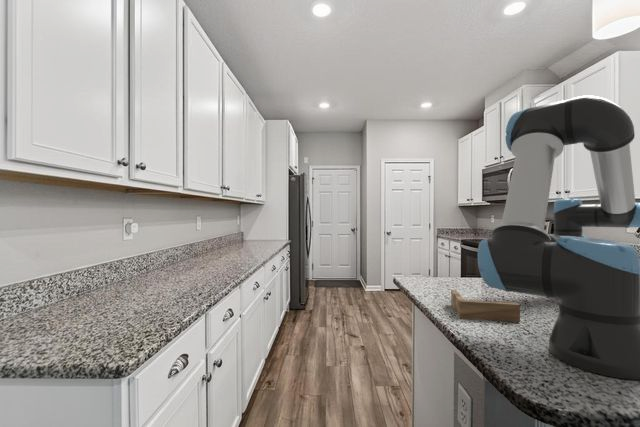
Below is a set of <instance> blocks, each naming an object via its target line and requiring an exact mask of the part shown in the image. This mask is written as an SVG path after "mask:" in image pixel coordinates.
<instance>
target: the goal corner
mask: <svg viewBox="0 0 640 427" xmlns="http://www.w3.org/2000/svg"><path fill="white" fill-rule="evenodd" d="M450 298H451V299H450V304H451V306H452V308H453V309H454V310H455V312H456V314H457V316H459V319H468V320H469V319H471V320H482V321H483V320H485V321H498V322H499V321H500V322H512V321H513V322H514V323H515V322H516V323H521V304H520V303H518V302H502V301H498V302H497V301H485V300H484V301H482V300H467V299H466V300H465V299H464V298H463V297H462V295H461V294H460V293H459V292H458V291H457V290H455V289H453V290H451V291H450Z"/></svg>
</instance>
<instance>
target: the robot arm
mask: <svg viewBox="0 0 640 427" xmlns="http://www.w3.org/2000/svg"><path fill="white" fill-rule="evenodd" d="M505 133H506V134H505V144H506V147H507V149H508V151H510V152H511V154H512V155H513V156H514V157H515V158H514V163H513V167H512V172H511V177H510V181H509V186H508V191H507V194H506V195H507V196H506V200H505V206H504V211H503V215H502V219H501V224H500V225H498V226H495V228H493V230H492V233H491V237H490V238H484V239H481V241H479V243H478V247H477V264H478V265H477V266H478V270H479V274H480V277H481V279H482V280H483V282H484V283H485V285H487V286H488V287H490V288H491V289H497V290H502V291H504V292H507V293H508V292H512V293H519V294H526V295H532V296H537V297H544V298H551V299H557V300H558V308H559V309H558V315H557V318H556V320H555V322H554V325H553V327H552V330H551V333H550V335H549V337H548V349H549V352H550V354H551V355H553V356H554V357H556V358H557V359H559V360H561V361H562V362H565V363H567V364H569V365H570V366H573V367H576V368H579V369H581V370H584V371H588V372H591V373H594V374H596V375H597V374H599V375H602V376H607V377H612V378H617V379H623V380H631V381H632V380H633V381H634V380H635V381H637V380H638V381H640V254H639V251H638V250H637V249H636V248H635V247H634V246H633V245H630V244H627V243H623V242H618V241H614V240H613V241H612V240H606V239H601V238H592V237H587V236H586V235H584V234H583V227H584V228H588V227H589V228H623V229H629V228H640V202H636V197H635V196H636V195H635V185H634V176H633V166H632V164H633V163H632V157H631V155H632V153H631V147H630V144H631V143H632V142H633V141H634V139H635V125H634V124H633V121H632V119H631V117H630V115H628V113H627V112H626V111H625V110H624V109H623V108H622V107H621V106H619V105H617V103H615V102H613V101H611V100H609V99H607V98H604V97H600V96H597V95H596V96H595V95H582V96H581V95H580V96H577V97H573V98H570V99H566V100H560V101H556V102H552V103H547V104H544V105H543V104H542V105H538V106H535V107H527V108H526V109H523V110H519V111H516V112H515V113H513V114H512V115H511V116H510V118H509V119H508V121H507V124H506V128H505ZM582 143H583V144H582ZM574 144H575V145H576V144H582V145H583V147H584V148H585V149H586V150H587V151H589V153H590V158H591V163H592V169H593V172H594V173H593V174H594V179H595V183H596V188H597V194H598V199H599V203H583V201H582V199H581V198H561V199H556V200H555V201H553V202H554V203H553V213H552V214H553V233H547V232H546V231H545V228H546V227H545V226H546V218H547V212H548V205H549V200H550V191H551V185H552V184H551V183H552V178H553V172H554V165H555V159H556V158H557V157H560V155H561V154H562V153H563V151H564V148H565V146H569V145H574Z"/></svg>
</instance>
